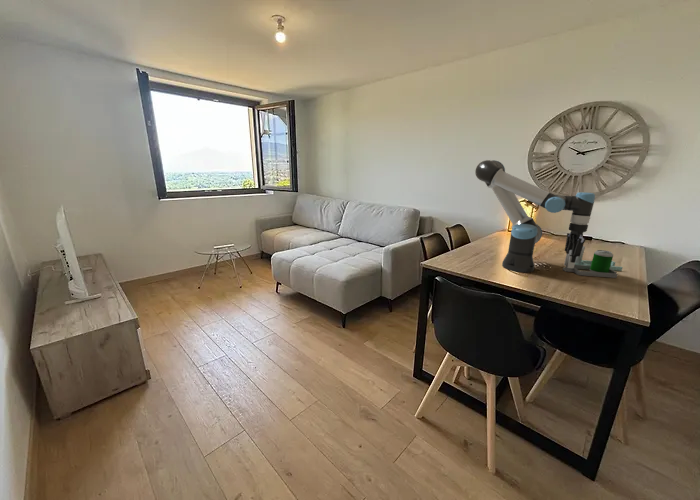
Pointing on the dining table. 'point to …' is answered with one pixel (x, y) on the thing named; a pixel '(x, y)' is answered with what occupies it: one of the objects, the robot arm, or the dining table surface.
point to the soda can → (601, 261)
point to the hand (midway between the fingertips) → (568, 266)
